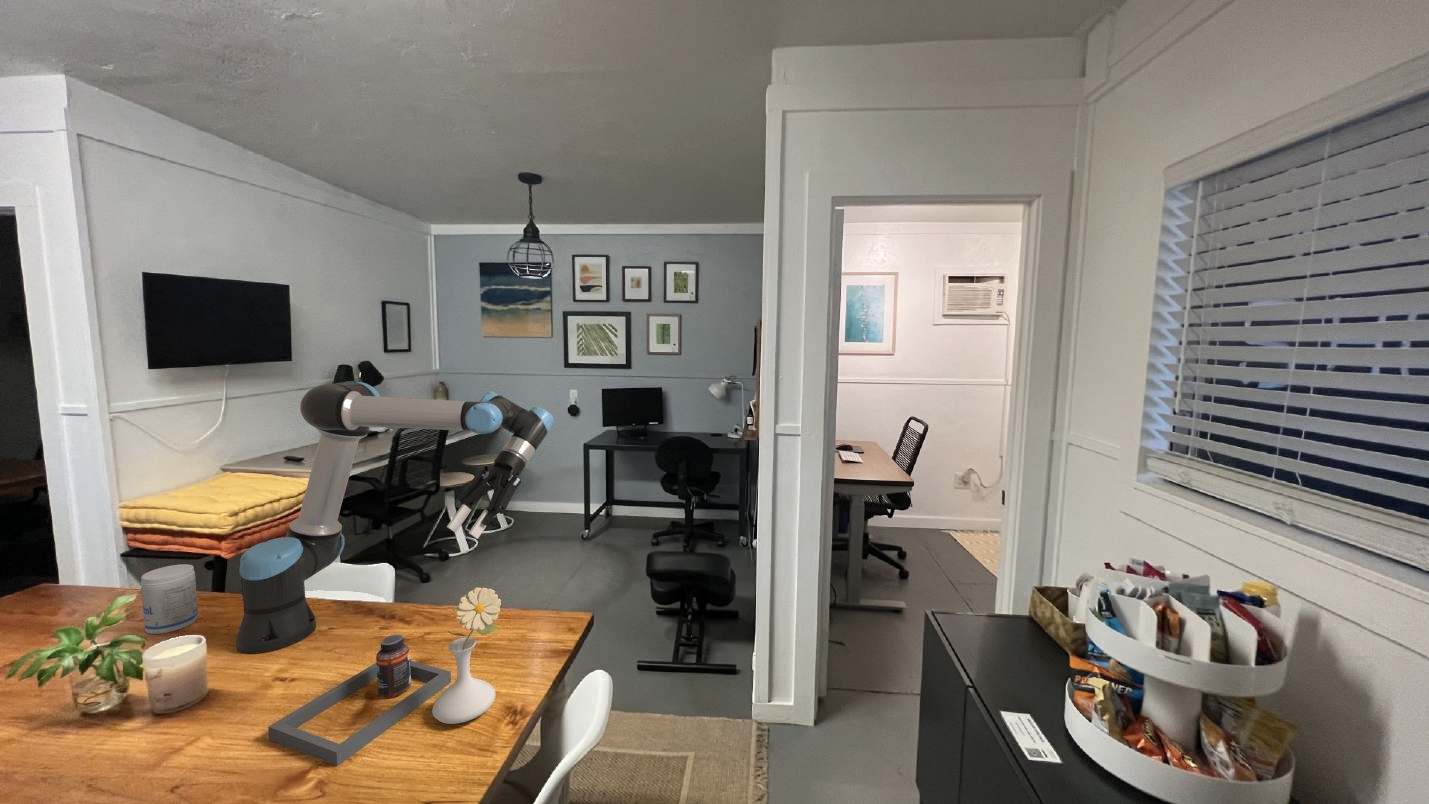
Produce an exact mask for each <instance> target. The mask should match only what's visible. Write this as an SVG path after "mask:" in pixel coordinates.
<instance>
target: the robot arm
mask: <svg viewBox="0 0 1429 804" xmlns="http://www.w3.org/2000/svg"><path fill="white" fill-rule="evenodd" d="M299 407H300V408H299V409H300V413H301V416H302V417H303V419H304V420H305V422H307V424H309V425H310V426H311V427H314V428H315V430H316V431H318V433H320V437H319V440H318V443H317V447H316V452H315V456H314V460H313V462H312V468H311V471H310V474H309V478H308V481H307V486H306V489H305V492H304V493H305V494H304V497H303V501H302V504H301V508H300V511H299V514H298V515H299V516H298V517H297V518H295V519H293V520H292V521H290V523H289V526H288V529H287V533H286V536H285V537H277V538H272V539H269V540H267V541H262V542H260V543H257V544H255V545H252V546H251V547H249V548H248V549H247V550H246V551H245V552H244V553H243V554H242V555H241V556H240V560H239V561H240V563H239V565H240V566H239V569H238V572H239V576H240V582H241V593H242V603H243V617H242V619H241V623H240V626H239V628H238V629H239V630H238V632H237V635H236V640H235V641H236V644H235V645H236V649H237V651H238V652H240V653H243V654H261V653H269V652H273V651H276V650H279V649H282V648H283V649H284V648H286V647H289V646H292V645H293V644H296V643H299V642H300V641H303V640H305V639H306V638H307V637H309V636H310V635H312V633H314V631H315V630H316V628H317V620H316V616H315V614H314V613H313V611H312V609H311V607H310V604H309V603H308V601H307V600H306V591H305V590H306V588H305V581H307V580H308V579H310V578H312V577H313V576H314V575H316V574H318V573H319V572H320V571H322V570H324V569H325V568H327V567H329V566H330V565H332V563H334V562H335V561H336V560H338V558H339V557H340V556H341V554H342V553H343V551H344V548H345V536H344V534H342V530H343V529H342V528H343V525H342V524H341V523H340V522H339V515H340V512H341V507H342V505H343V504H342V503H343V500H344V498H345V493H346V489H347V486H348V482H349V479H350V478H349V477H350V475H351V472H352V467H353V465H354V464H353V463H354V460H355V457H356V453H357V449H358V446H359V442H360V440H361V439H363V438H365V437H367V436H368V435H369V430H370V428H371V427H372V428H373V427H374V428H393V429H395V428H396V429H422V430H440V431H441V430H443V431H465V432H472V433H474V434H478V435H487V434H491V433H494V432H495V431H496V430H498V429H500V428H502V429H504V430H506V431H508V432H509V433H512V436H510V438H509V439H508V440H507V442H506V443H505V445H504V446H503V447H502V450H500V452H499V453H498V455H497V456H496V458H495V459H494V460H493V464H494V467H493V468H492V469H490V470H489V471H486V470H485V469H482V470H481V471H480V473H478V474H479V475H478V476H477V477H476V478H475V480H474V481H473V482H471V484H470V485H469V486H468V487H467V488H466V490H465V491H464V492H463V493H462V494H461V496H459V498H458V502H460V503H461V505H460V506H459V508H458V509H457V510H456V512H455V514H454V516H453V517H452V519H451V520H450V521H449V523H447V525H446V528H448V529H449V530H451V531H452V532H454V533H457V531H458V530H459V529H460V527H461V526H462V525H463V523H464V522H465V521H466V519H467V517H468V516H469V514H470V513H471V511H472V510H473V509H472V507H473V506H474V505H475V504H477V502H479V500H481V499H482V498H483V497H484V496H486V494H488V493H489V492H491V491H493V493H492V496H491V499H490V502H489V505H488V506H486V507H485V509H484V510H483V511H482V512H481V514H480V515H479V517H478V519H477V520H476V521H475V523H474V524H473V525H472V527H471V528H470V530H469V531H468V534H469V535H470V536H471V537H473V538H475V539H479V538H480V536H481V535H482V534H483V532H484V530H485V529H486V527H487V526H488V525H490V523H491V522H492V520H493V518H494V517H495V516H497V515H498V514H499V515H503V514H504V513H505V511H506V509H507V507H508V506H509V503H510V501H511V499H512V497H513V496H514V494H515V491H516V489H518V487H519V486H520V485H521V483H522V480H521V479H520V478H518V477H519V476H520V475H521V473H522V472H523V471H524V469H525V467H527V466H526V464H528V463H529V461H530V459H532V456H533V455H534V453H535V452H536V451H537V449H538V448H539V446H541V443H543V441H544V439H545V438H546V436H547V435H548V433H549V431H550V430H551V429H552V426H553V425H554V422H555V421H554V420H555V419H554V417H553V415H552V414H551V413H550V412H549V411H547V410H546V409H544V408H541V407H540V406H534V407H531V409H529V410H528V409H525V408H523V407H522V406H520V405H518V404H517V403H515V402H514V401H511V400H510V399H507V398H506V397H505V396H504V395H502V394H498V393H497V392H495V391H493V390H492V391H491V390H490V391H488V392H486V394H484V395H483V396H482V397H481V398H480V400H479V401H465V400H451V399H450V400H449V399H432V398H431V399H429V398H428V399H427V398H412V397H411V398H407V397H396V396H395V397H391V396H381V395H380V394H379V392H378V390H376V389H375V387H373V386H372V385H370V384H368V383H366V382H361V381H350V380H349V381H348V380H347V381H344V382H337V383H325V384H320V385H317V386H315V387H312V388H310V390H308V391H307V392H306V393H305V394H304V395H303V396H302V398H301V402H300V405H299Z"/></svg>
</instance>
